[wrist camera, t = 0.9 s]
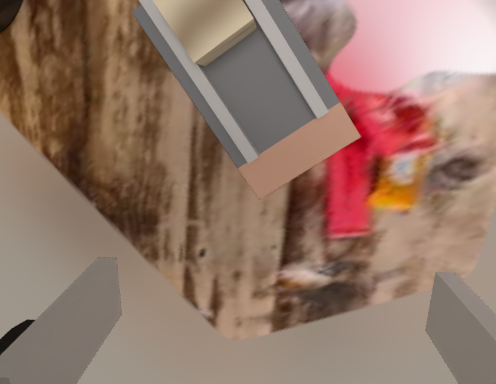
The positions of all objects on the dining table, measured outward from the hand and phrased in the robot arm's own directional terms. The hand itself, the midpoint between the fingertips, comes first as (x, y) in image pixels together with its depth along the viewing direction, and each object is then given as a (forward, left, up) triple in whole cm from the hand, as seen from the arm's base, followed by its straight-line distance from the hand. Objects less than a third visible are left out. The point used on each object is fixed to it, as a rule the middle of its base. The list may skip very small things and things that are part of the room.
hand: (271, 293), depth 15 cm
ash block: (-16, +3, -23) cm, 28 cm away
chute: (-10, +3, -24) cm, 26 cm away
